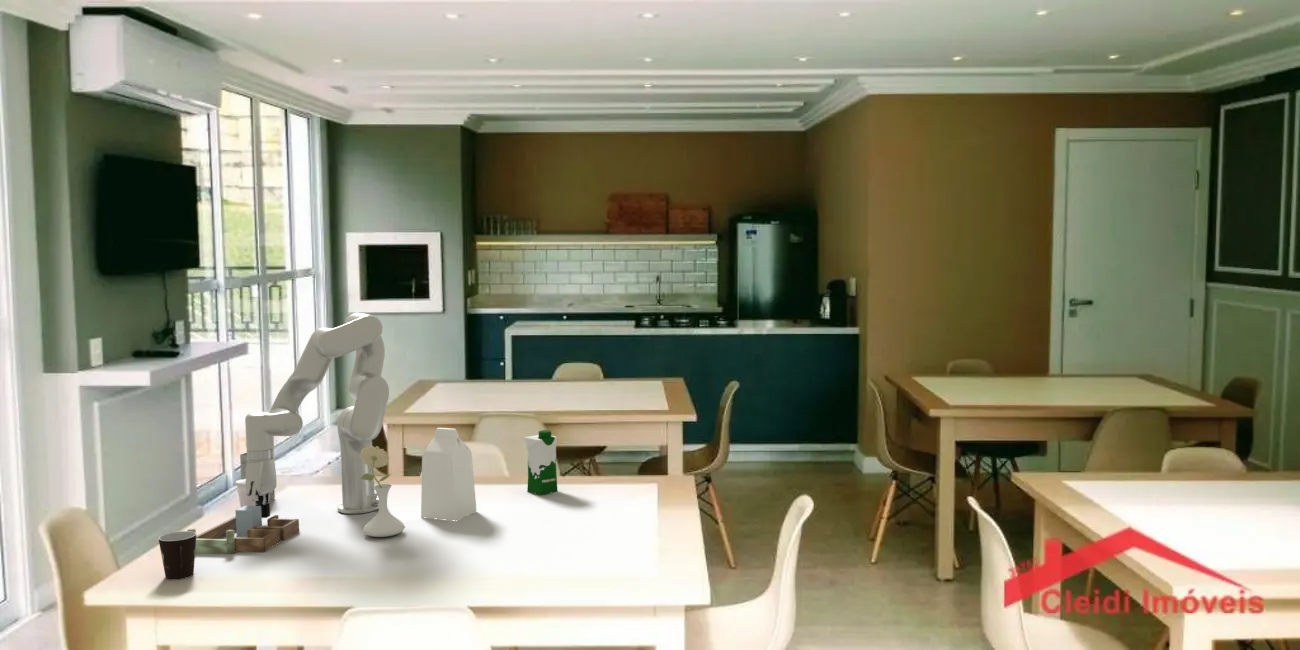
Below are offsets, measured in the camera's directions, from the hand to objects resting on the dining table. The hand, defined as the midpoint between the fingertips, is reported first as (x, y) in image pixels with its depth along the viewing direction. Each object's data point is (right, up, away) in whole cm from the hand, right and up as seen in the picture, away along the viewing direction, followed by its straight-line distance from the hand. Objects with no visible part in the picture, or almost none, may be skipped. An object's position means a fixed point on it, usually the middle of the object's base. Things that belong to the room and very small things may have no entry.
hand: (263, 516), depth 312 cm
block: (-1, -3, -8) cm, 9 cm away
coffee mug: (-4, -7, -48) cm, 48 cm away
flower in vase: (+38, -3, -13) cm, 40 cm away
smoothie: (-10, -1, +15) cm, 18 cm away
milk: (+53, -1, +7) cm, 53 cm away
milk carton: (+78, +2, +34) cm, 85 cm away
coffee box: (-11, 0, +27) cm, 29 cm away
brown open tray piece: (+1, -4, -16) cm, 16 cm away
